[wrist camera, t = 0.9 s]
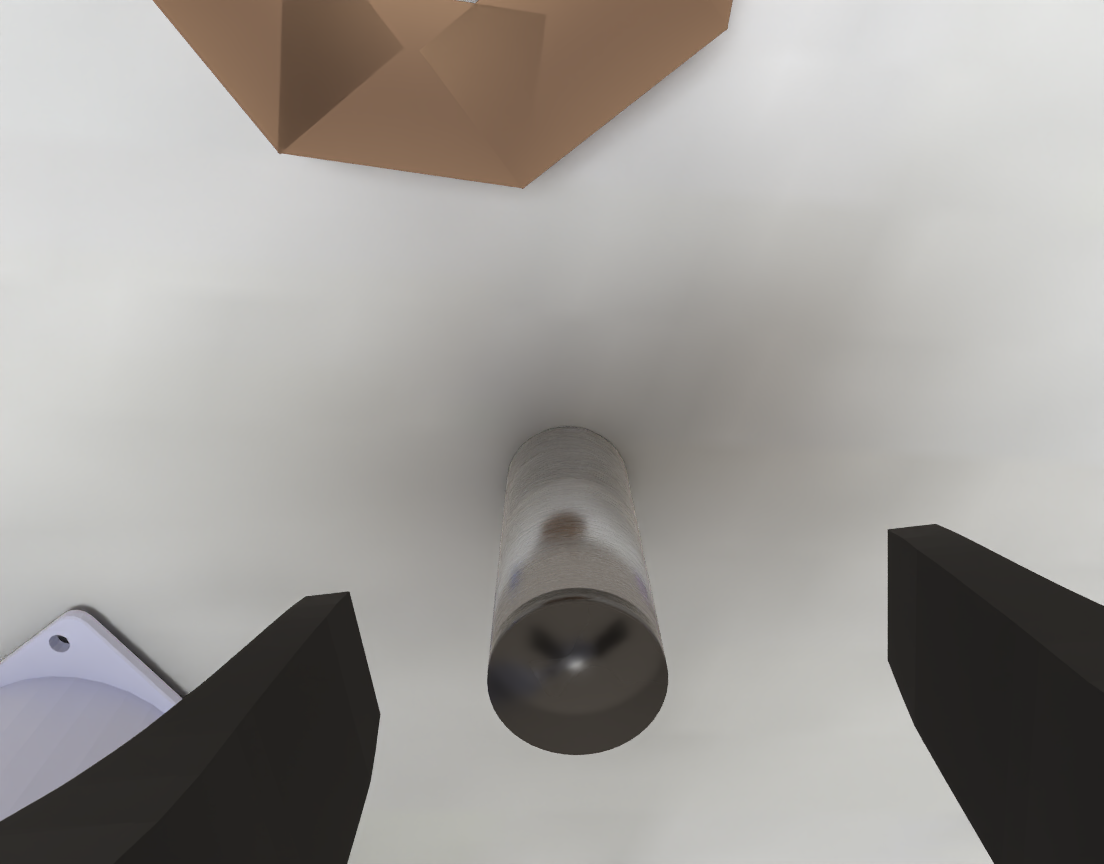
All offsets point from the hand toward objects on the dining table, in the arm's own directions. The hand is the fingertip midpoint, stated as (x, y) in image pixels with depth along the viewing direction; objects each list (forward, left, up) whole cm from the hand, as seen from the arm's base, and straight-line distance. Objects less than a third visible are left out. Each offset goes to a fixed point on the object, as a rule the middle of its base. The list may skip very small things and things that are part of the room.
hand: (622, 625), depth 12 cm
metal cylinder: (-2, -2, -10) cm, 10 cm away
